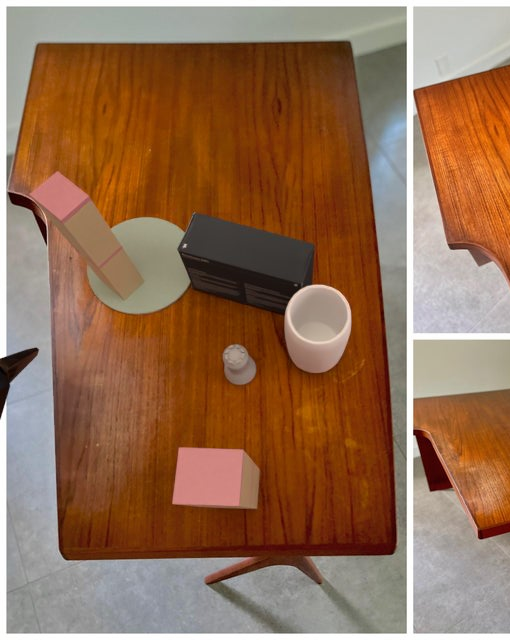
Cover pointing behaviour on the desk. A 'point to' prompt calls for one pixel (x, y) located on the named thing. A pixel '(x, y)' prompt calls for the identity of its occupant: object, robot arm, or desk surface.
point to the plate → (147, 266)
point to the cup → (317, 327)
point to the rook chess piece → (238, 365)
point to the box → (245, 262)
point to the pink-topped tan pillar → (87, 233)
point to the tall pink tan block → (216, 478)
